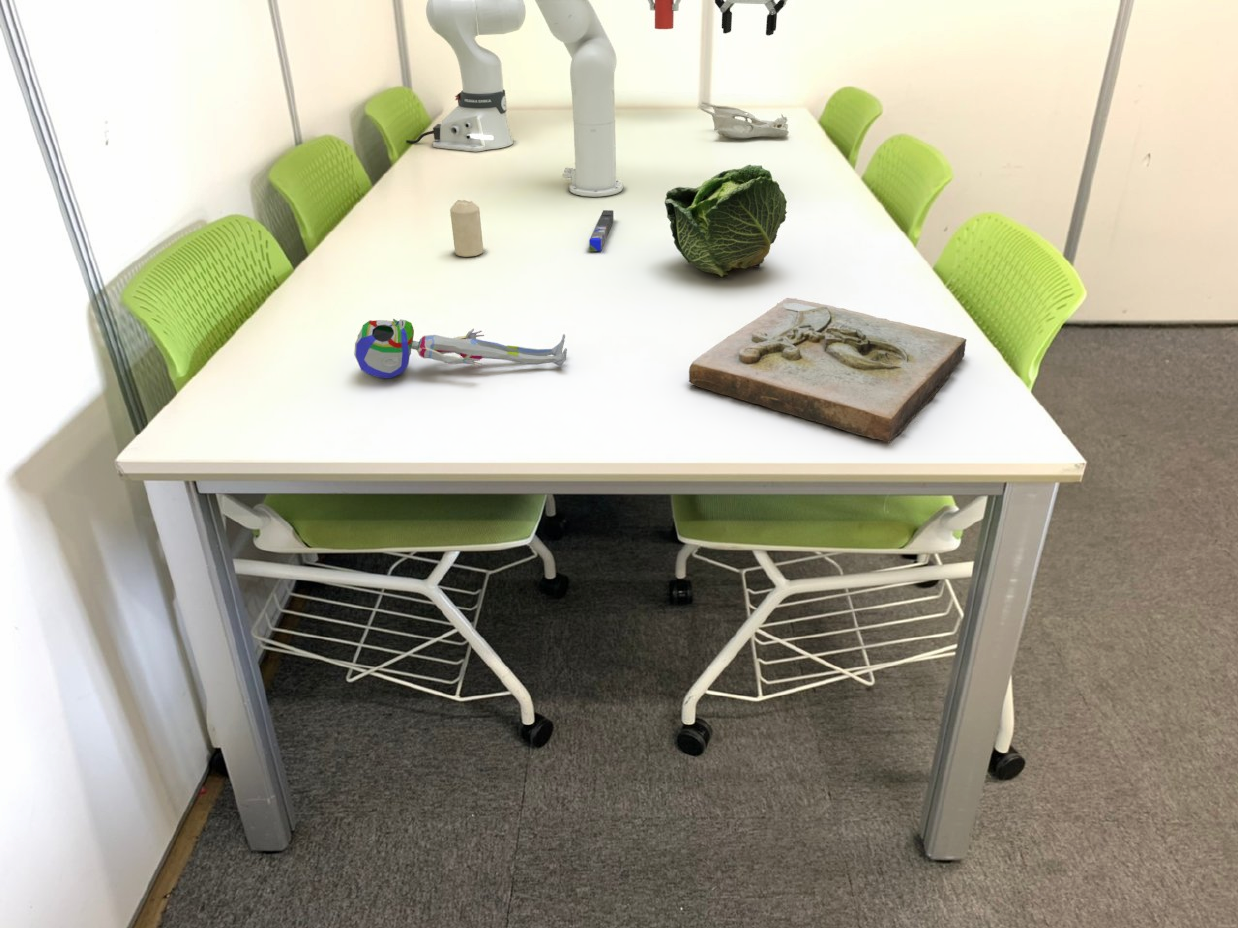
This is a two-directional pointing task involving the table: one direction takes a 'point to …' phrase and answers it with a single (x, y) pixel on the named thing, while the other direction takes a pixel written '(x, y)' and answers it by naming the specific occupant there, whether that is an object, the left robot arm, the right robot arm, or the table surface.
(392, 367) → the toy
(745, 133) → the anatomical model
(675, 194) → the vegetable
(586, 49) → the right robot arm
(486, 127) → the left robot arm
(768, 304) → the table surface
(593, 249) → the pillar
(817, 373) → the plaque
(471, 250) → the candle
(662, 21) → the canister
